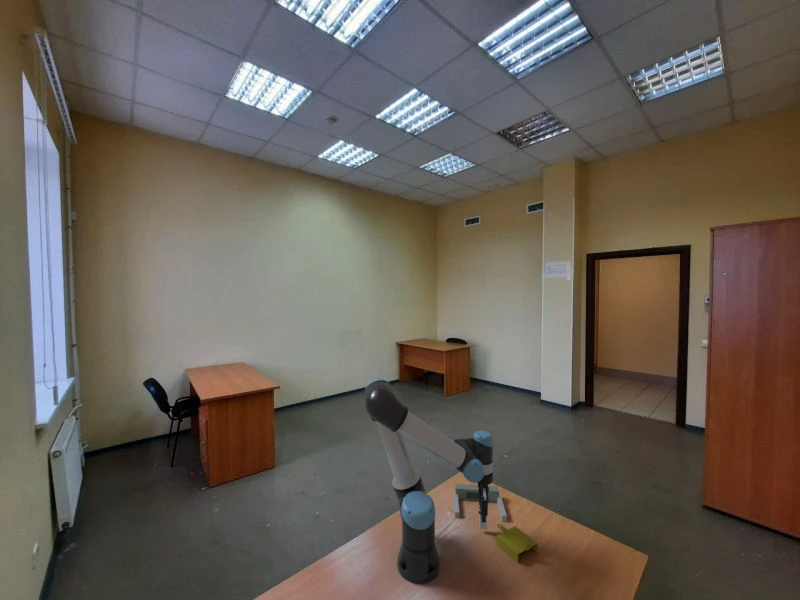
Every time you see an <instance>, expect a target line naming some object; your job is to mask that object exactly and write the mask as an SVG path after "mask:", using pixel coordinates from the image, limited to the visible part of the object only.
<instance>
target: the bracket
mask: <svg viewBox="0 0 800 600" xmlns="http://www.w3.org/2000/svg"><path fill="white" fill-rule="evenodd" d="M497 528H499V529H500V530H501V531H502V532H501V533H499V534H497V535H495V536H496V542H495V543H496V546H497V547H498V548H500V550H502V551H503V552H504V553H505V554H506V555H507V556H509V557H510V559H512V560H513V561H514V562H515V563H516V564H519V554H522V553H523V552H525V551H529V550H530V549H532V550H533V551H535V552H536V553H538V542H537V541H535V540H534V539H533V538H531V537H530V536H528V535H527V534H526V533H525V532H523V530H520V529H519V528H518V527H517V526H512V527H510V528H506V527H505V526H504V525H502V524H500V523H498V524H497Z"/></svg>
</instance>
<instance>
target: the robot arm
mask: <svg viewBox="0 0 800 600" xmlns="http://www.w3.org/2000/svg"><path fill="white" fill-rule="evenodd" d="M363 397H364V402H365V403H364V405H365V409H366V412H367V415H369V416H370V419H371V422H373V423H374V424H376V426H377V428H378V431H379V434H380V438H381V440H382V444H383V447H384V450H385V453H386V456H387V459H388V461H389V464H390V465H389V466H390V469H391V472H392V475H393V479H392V482H391V484H392V488H393V491H394V493H395V497H396V500H397V503H398V507H399V513H400V520H401V530H402V531H401V540H402V541H401V545H400V549H399V551H398V554H397V558H396V560H397V563H396V565H397V566H396V567H397V571H398V573H399V574H400V576H401V577H402V578H403V579H405V581H407V582H410V583H413V584H426V583H430V582H432V581H433V580H434V579H435V578H436V577H437V576H438V574H439V573H440V568H441V567H440V566H441V561H440V560H441V558H440V556H439V553H438V549H437V547H436V535H435V534H436V527H435V525H436V507H435V502H434V500H433V498H432V497H431V496H430V495H429V494H428V493H427V491H426V488H425V484H424V482H423V479H422V476H421V473H420V471H419V470H418V469H415V467H414V463H413V459H412V457H411V453H410V451H409V447H408V444H407V441H406V438H407V439H409V440H410V441H411V442H414V443H415V444H417V445H418V446H420V447H421V448H423V449H424V450H425V451H427V452H429V453H431V454H432V455H433V456H435V457H436V458H437V459H439V460H441V461H443V462H444V463H446V464H448V465H449V466H450V467H452V468H454V469H455V470H457V471H458V472H460V473H461V474H462V476H463V477H464V478H465V479H466V480H467V481H468V482H470V483H473V484H476V483H477V485H478V492H479V501H478V506H479V510H478V514H479V529H480V530H487V529H488V523H487V522H488V520H487V519H488V511H489V501H488V499H489V497H488V492H489V487H488V486H490V485H491V484H492V483H493V481H494V475H493V474H494V473H493V469H494V468H493V466H495V463H494V461H493V457H494V455H493V454H494V453H493V452H494V440H493V436H492V434H491V433H490V432H488V431H485V430H478V431H475V432H473V437H470V438H468V437H467V438H453V439H450V438H449V437H447V436H446V435H444V434H443V433H442V432H440V431H438V430H437V429H435V427H432V426H431V425H429V424H428V423H426V422H425V421H423V420H422V419H420V418H418V417H417V416H416V415H415V414H413V413H411V412H410V409H409V407H408V406H406V405H405V404H403V403H402V402H401V401H400V399H398V397H397V395H396V393H395V389H394V387H393V385H392V384H391V382H390V381H388V380H386V379H384V378H376V379H373V380H371V381H370V382H369V383H368V384H367V385H366V386H365V390H364V393H363Z"/></svg>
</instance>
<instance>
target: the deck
mask: <svg viewBox="0 0 800 600" xmlns="http://www.w3.org/2000/svg"><path fill="white" fill-rule="evenodd" d="M454 487H455V489H454V491H455V492H454V493H453V511H454V518H458V519H460V505H459V500H463V501H464V500H465V501H478V502H479V492H478V484H465V483H455V484H454ZM488 487H489V492H488V497H489V499H488V502H491V503H492V502H493V503H497V508H498V512H499V514H500V519H501V522H506V521H508V520H507V519H508V516H507V512H506V509H505V508H506V507H505V505H504V502H503V498H502V496H500V490H499V487H498V486H495V485H494V486H493V485H488Z"/></svg>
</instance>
